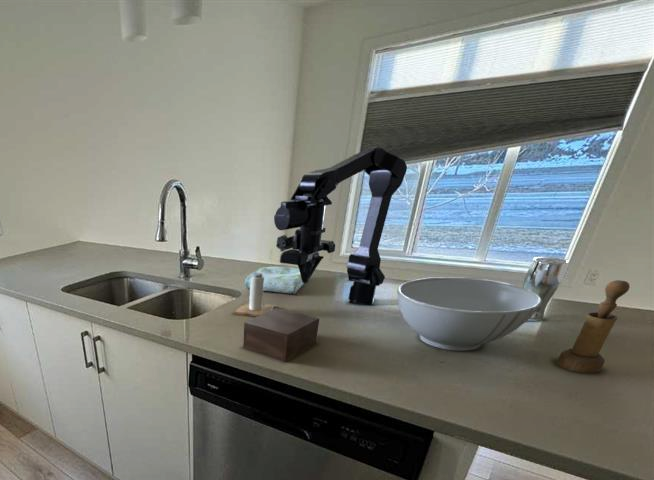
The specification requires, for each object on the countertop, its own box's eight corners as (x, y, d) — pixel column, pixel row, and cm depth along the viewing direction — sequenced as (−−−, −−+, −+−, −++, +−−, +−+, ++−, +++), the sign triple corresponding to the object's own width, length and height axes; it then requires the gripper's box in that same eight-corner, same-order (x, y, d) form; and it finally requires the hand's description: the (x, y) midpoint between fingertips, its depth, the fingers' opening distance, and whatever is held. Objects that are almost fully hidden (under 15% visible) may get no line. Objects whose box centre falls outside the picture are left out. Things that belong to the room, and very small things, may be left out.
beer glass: (537, 312, 109) (561, 256, 101) (550, 322, 103) (576, 263, 96) (506, 312, 111) (527, 256, 104) (517, 321, 105) (540, 263, 98)
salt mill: (264, 308, 127) (266, 274, 121) (253, 311, 126) (255, 276, 120) (257, 305, 130) (259, 271, 125) (246, 307, 129) (248, 273, 124)
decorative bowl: (538, 371, 83) (563, 316, 77) (390, 357, 94) (401, 307, 88) (503, 325, 104) (520, 278, 98) (384, 317, 115) (394, 275, 109)
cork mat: (275, 307, 129) (275, 305, 129) (265, 317, 122) (265, 315, 122) (245, 304, 134) (245, 301, 134) (234, 313, 127) (234, 311, 127)
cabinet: (274, 332, 112) (276, 307, 109) (315, 344, 103) (319, 318, 100) (243, 347, 105) (244, 322, 102) (285, 361, 96) (287, 334, 93)
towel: (308, 279, 153) (310, 266, 150) (294, 296, 137) (296, 281, 135) (261, 276, 161) (262, 263, 159) (243, 291, 146) (243, 277, 144)
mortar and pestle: (547, 360, 87) (585, 278, 78) (576, 357, 87) (617, 274, 78) (579, 375, 81) (624, 287, 72) (609, 371, 81) (658, 283, 72)
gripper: (302, 218, 118) (297, 271, 125) (264, 229, 108) (261, 286, 115) (340, 219, 110) (331, 276, 117) (302, 231, 100) (296, 292, 108)
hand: (304, 282), depth 115 cm, fingers closed
